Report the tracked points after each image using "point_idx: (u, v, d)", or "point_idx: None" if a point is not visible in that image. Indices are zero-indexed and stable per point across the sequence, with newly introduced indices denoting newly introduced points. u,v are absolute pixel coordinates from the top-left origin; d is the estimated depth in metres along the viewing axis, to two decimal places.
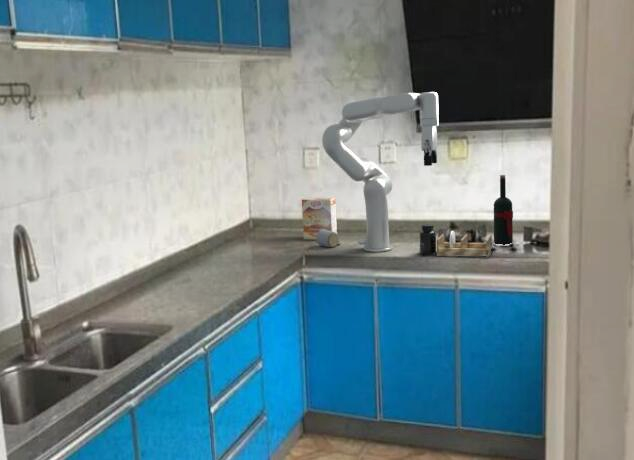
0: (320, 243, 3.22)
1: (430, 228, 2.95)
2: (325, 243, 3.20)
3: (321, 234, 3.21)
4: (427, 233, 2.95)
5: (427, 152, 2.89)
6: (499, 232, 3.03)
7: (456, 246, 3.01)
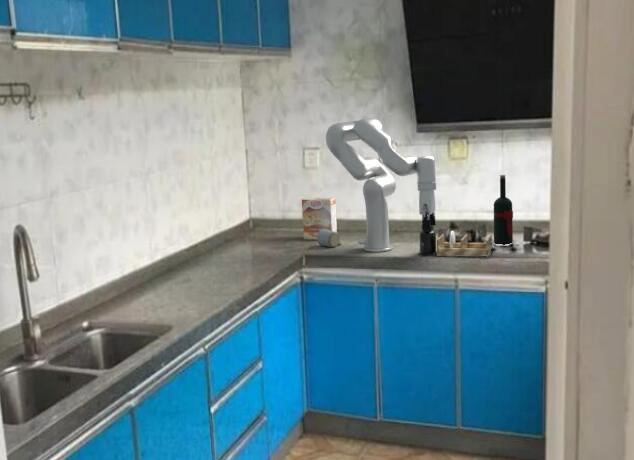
0: (321, 243, 3.23)
1: None
2: (326, 243, 3.20)
3: (322, 234, 3.22)
4: (427, 233, 2.95)
5: (425, 217, 2.89)
6: (499, 232, 3.03)
7: (456, 246, 3.01)
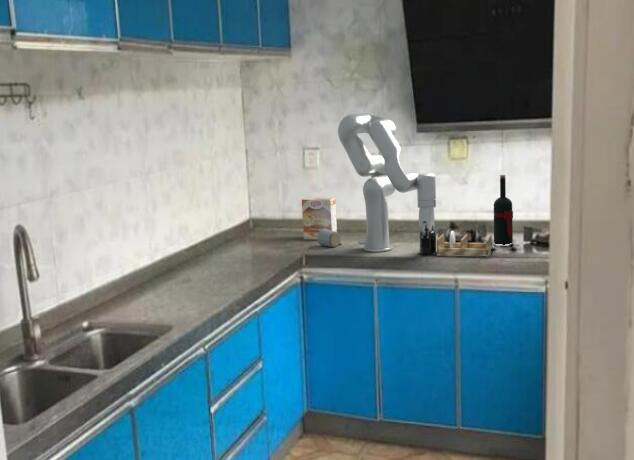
0: (322, 243, 3.23)
1: None
2: (327, 243, 3.20)
3: (323, 234, 3.22)
4: None
5: (425, 235, 2.92)
6: (499, 232, 3.03)
7: (456, 246, 3.01)
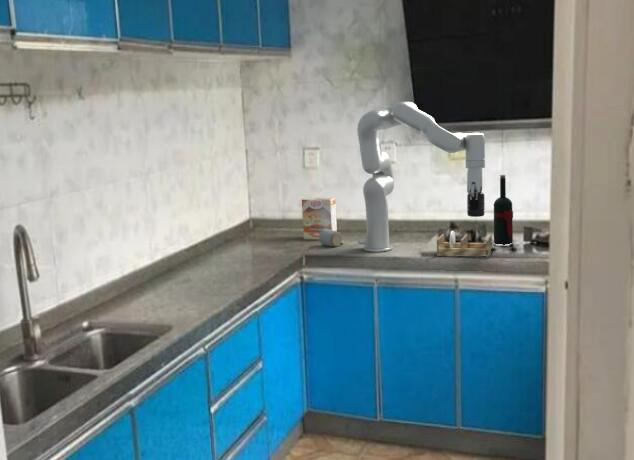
0: (323, 243, 3.23)
1: None
2: (328, 242, 3.21)
3: (324, 233, 3.22)
4: None
5: (474, 196, 2.83)
6: (499, 232, 3.03)
7: (456, 246, 3.01)
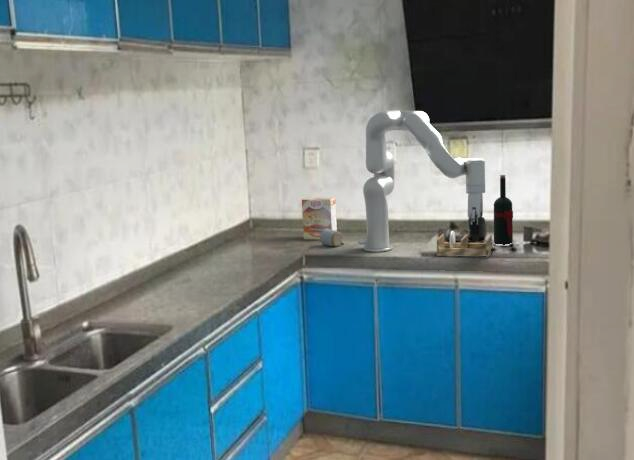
0: (324, 243, 3.24)
1: None
2: (329, 242, 3.21)
3: (325, 233, 3.23)
4: (476, 219, 2.88)
5: (475, 221, 2.85)
6: (499, 232, 3.03)
7: (456, 246, 3.01)
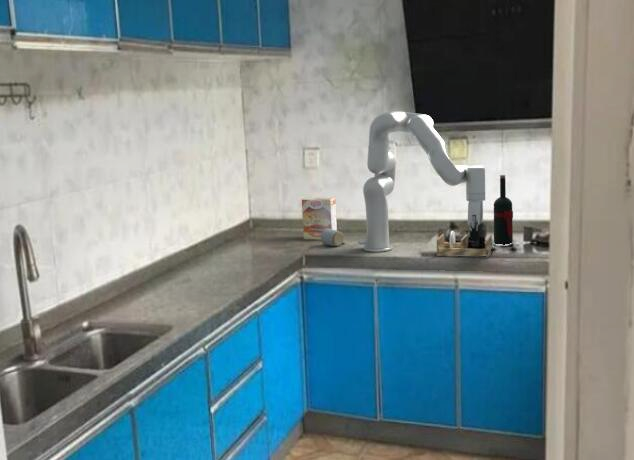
0: (325, 242, 3.24)
1: (480, 226, 2.89)
2: (330, 242, 3.21)
3: (326, 233, 3.23)
4: None
5: (474, 228, 2.84)
6: (499, 232, 3.03)
7: (456, 246, 3.01)
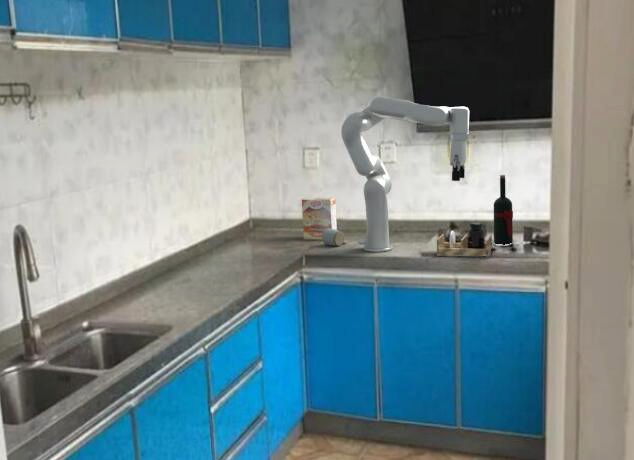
0: (326, 242, 3.24)
1: (479, 226, 2.89)
2: (331, 242, 3.22)
3: (327, 233, 3.23)
4: (475, 231, 2.88)
5: (456, 167, 2.88)
6: (499, 232, 3.03)
7: (456, 246, 3.01)
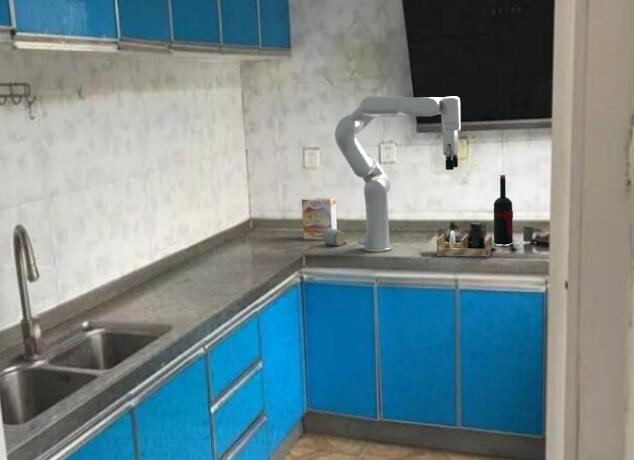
0: (327, 242, 3.24)
1: (479, 226, 2.89)
2: (332, 242, 3.22)
3: (328, 233, 3.24)
4: (475, 231, 2.89)
5: (449, 156, 2.91)
6: (499, 232, 3.03)
7: (456, 246, 3.01)
